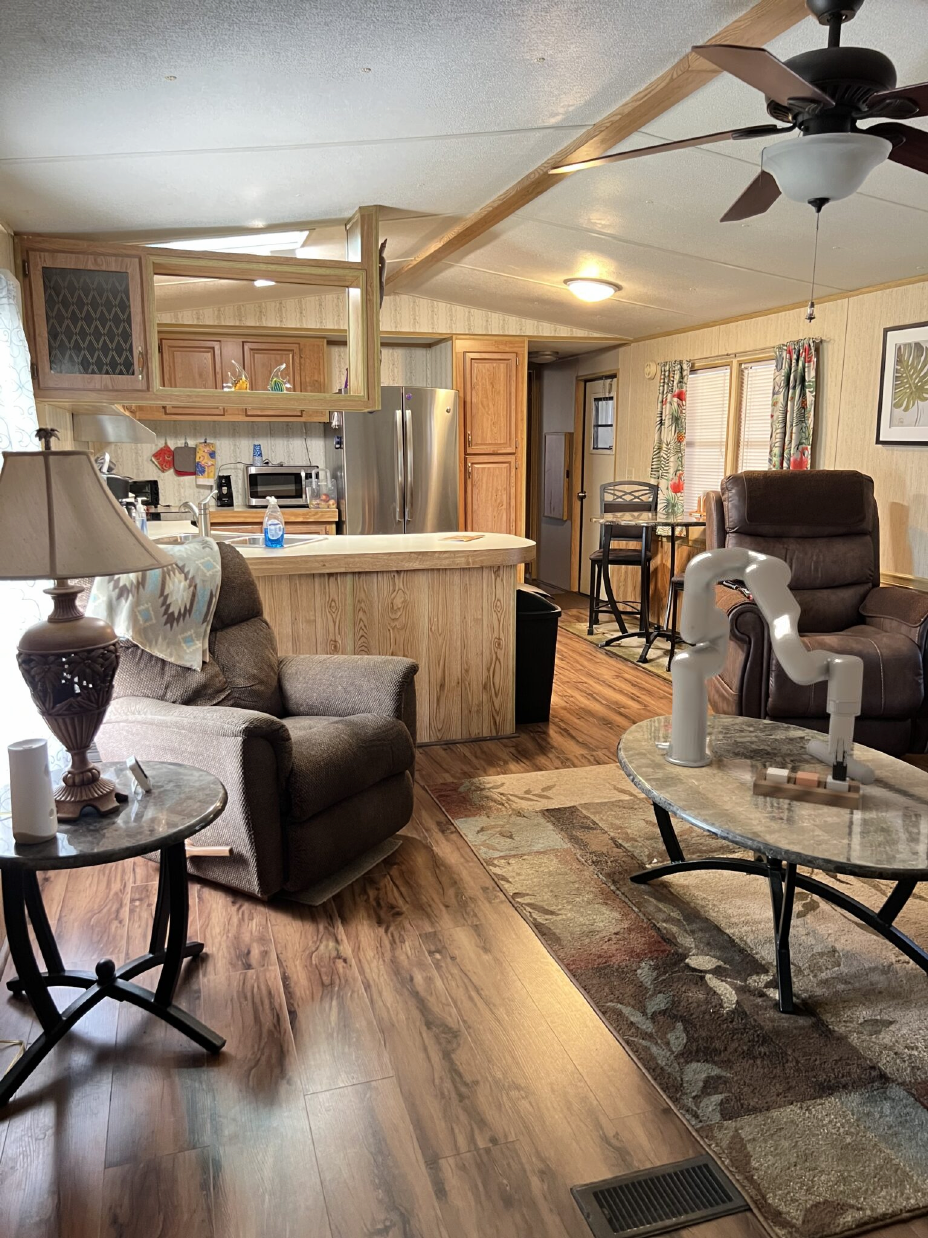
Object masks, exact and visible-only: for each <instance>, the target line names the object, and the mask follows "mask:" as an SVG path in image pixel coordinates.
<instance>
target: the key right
mask: <svg viewBox="0 0 928 1238" xmlns="http://www.w3.org/2000/svg"><path fill="white" fill-rule="evenodd" d="M849 781H850V777H847V778H846V781H838V780H833V779H832V775H829V774H828V775H827V786H826V789H829V790H836V791H843V792H848V786H849Z"/></svg>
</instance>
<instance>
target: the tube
mask: <svg viewBox="0 0 928 1238" xmlns="http://www.w3.org/2000/svg"><path fill="white" fill-rule="evenodd" d="M806 753H807V754H808V755H809V756H811V757H814V758H815V759H818V760H819V761H821V762H823V763H824V764H826V765H829V766H830V767H832V768H833V762H834V752H833V753H831V754H829V753H828V744H827V743H825V742H823V741H822V740H821V739H820V738H812V739H811V740H810V741H809V742H808V744H807V745H806ZM846 764H847V777H848V778H851V779H852V780H854V781H856V782H861V783H860V784H862V785H868V784H870V785H871V784H872V783H873V782H874V781H875V780H876V772H875V771H876V770H874V769H873V768H872V767H870V766H869V765H867V764H865V763H863V762H861V761H860V760H857V759H856V758H854V757H852V756H850V755H848V756H847V762H846Z"/></svg>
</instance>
